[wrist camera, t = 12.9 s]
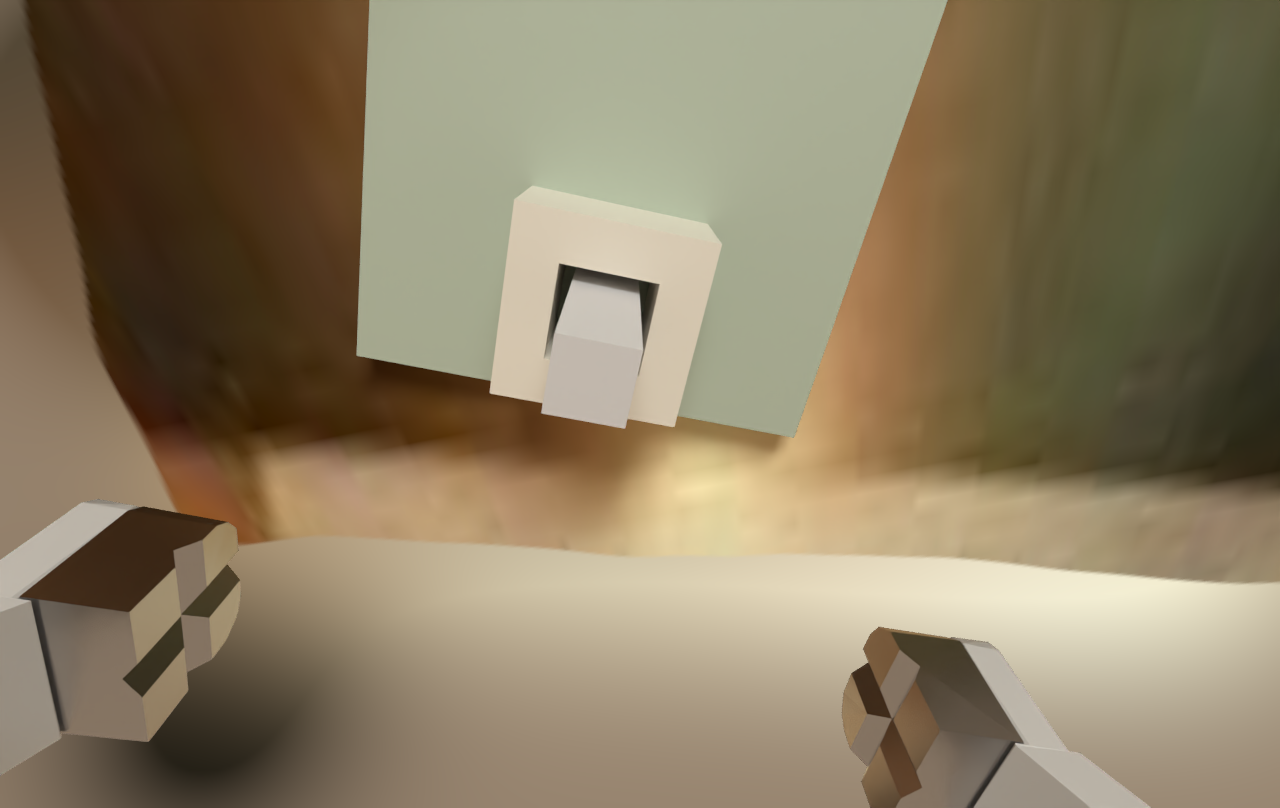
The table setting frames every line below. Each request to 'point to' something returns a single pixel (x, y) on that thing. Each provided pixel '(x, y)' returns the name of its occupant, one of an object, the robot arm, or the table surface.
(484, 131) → the post board
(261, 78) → the table surface
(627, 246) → the square collar
